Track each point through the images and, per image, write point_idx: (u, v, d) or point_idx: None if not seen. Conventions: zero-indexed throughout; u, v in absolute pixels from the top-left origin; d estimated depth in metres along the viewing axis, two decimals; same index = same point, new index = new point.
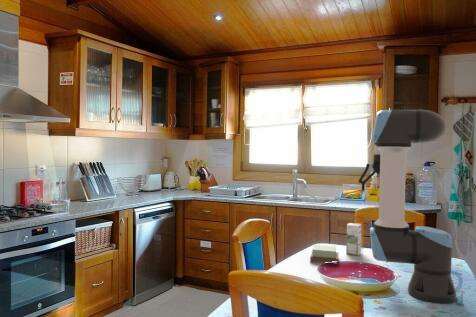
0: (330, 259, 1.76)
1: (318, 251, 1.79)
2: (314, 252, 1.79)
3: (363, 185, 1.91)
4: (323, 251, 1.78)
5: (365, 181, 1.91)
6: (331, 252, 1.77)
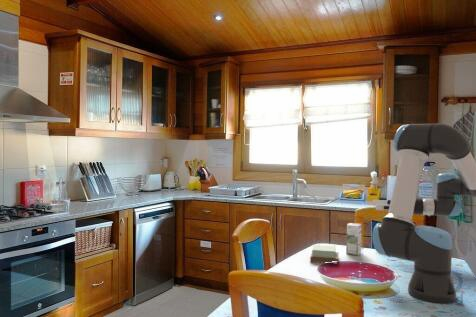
0: (330, 259, 1.76)
1: (318, 251, 1.79)
2: (314, 252, 1.79)
3: None
4: (323, 251, 1.78)
5: (390, 200, 1.96)
6: (331, 252, 1.77)
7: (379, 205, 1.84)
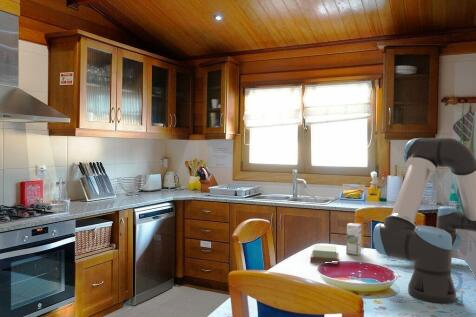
0: (330, 259, 1.76)
1: (319, 251, 1.79)
2: (315, 252, 1.79)
3: None
4: (324, 251, 1.78)
5: None
6: (332, 252, 1.77)
7: None
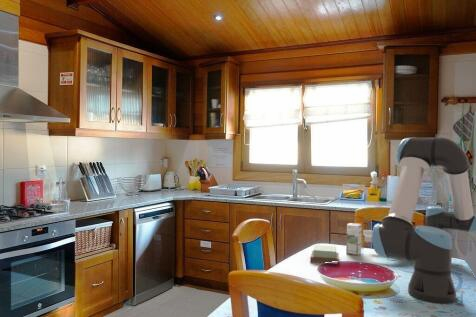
0: (330, 259, 1.76)
1: (319, 251, 1.79)
2: (315, 252, 1.79)
3: None
4: (324, 251, 1.78)
5: None
6: (332, 252, 1.77)
7: (368, 237, 1.87)
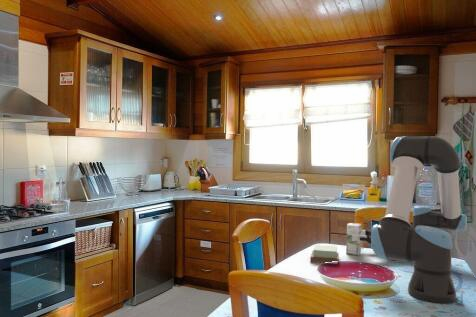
0: (330, 259, 1.76)
1: (319, 251, 1.79)
2: (315, 252, 1.79)
3: None
4: (324, 251, 1.78)
5: (368, 230, 2.00)
6: (332, 252, 1.77)
7: (355, 236, 1.88)
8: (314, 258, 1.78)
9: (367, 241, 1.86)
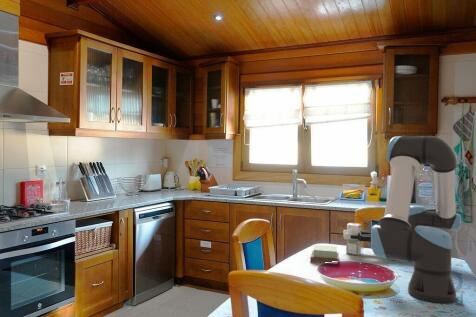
0: (330, 259, 1.76)
1: (319, 251, 1.78)
2: (315, 252, 1.79)
3: None
4: (324, 251, 1.78)
5: None
6: (332, 252, 1.77)
7: (346, 234, 1.91)
8: (314, 258, 1.78)
9: (358, 239, 1.89)
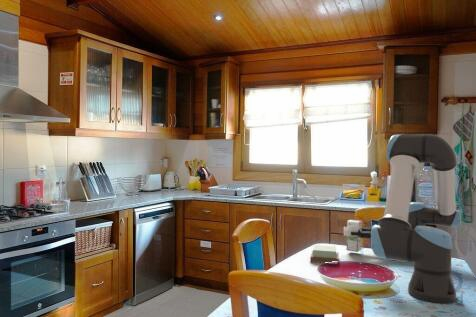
0: (330, 259, 1.76)
1: (318, 251, 1.78)
2: (314, 252, 1.79)
3: None
4: (323, 251, 1.78)
5: None
6: (332, 252, 1.77)
7: (346, 231, 1.92)
8: (314, 258, 1.78)
9: (358, 236, 1.89)
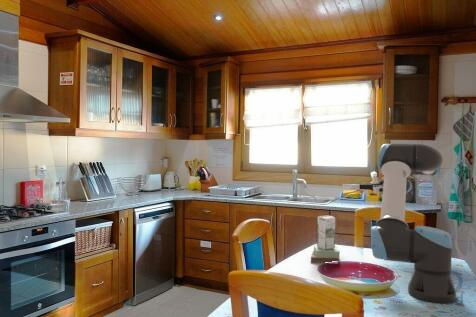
0: (331, 259, 1.76)
1: (322, 252, 1.77)
2: (318, 253, 1.78)
3: None
4: (327, 252, 1.77)
5: (360, 184, 1.99)
6: (335, 252, 1.77)
7: (377, 188, 1.84)
8: (314, 258, 1.78)
9: None
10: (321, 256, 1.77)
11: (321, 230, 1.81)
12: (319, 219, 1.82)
